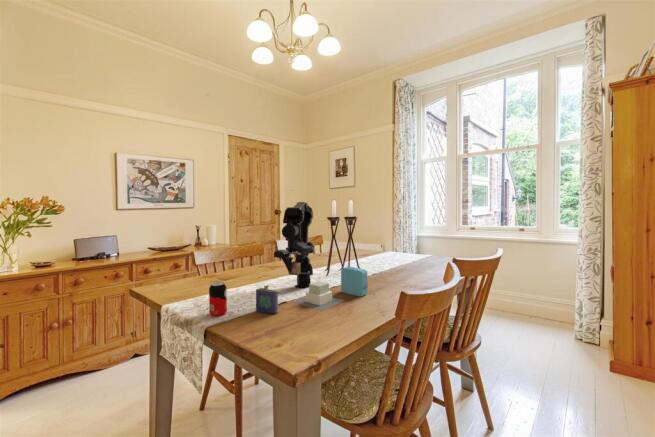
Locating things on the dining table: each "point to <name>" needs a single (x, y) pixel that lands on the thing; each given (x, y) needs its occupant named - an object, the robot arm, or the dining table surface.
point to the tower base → (319, 298)
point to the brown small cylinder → (295, 268)
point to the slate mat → (322, 307)
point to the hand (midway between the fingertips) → (294, 271)
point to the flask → (266, 300)
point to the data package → (354, 281)
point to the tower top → (319, 287)
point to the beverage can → (217, 299)
